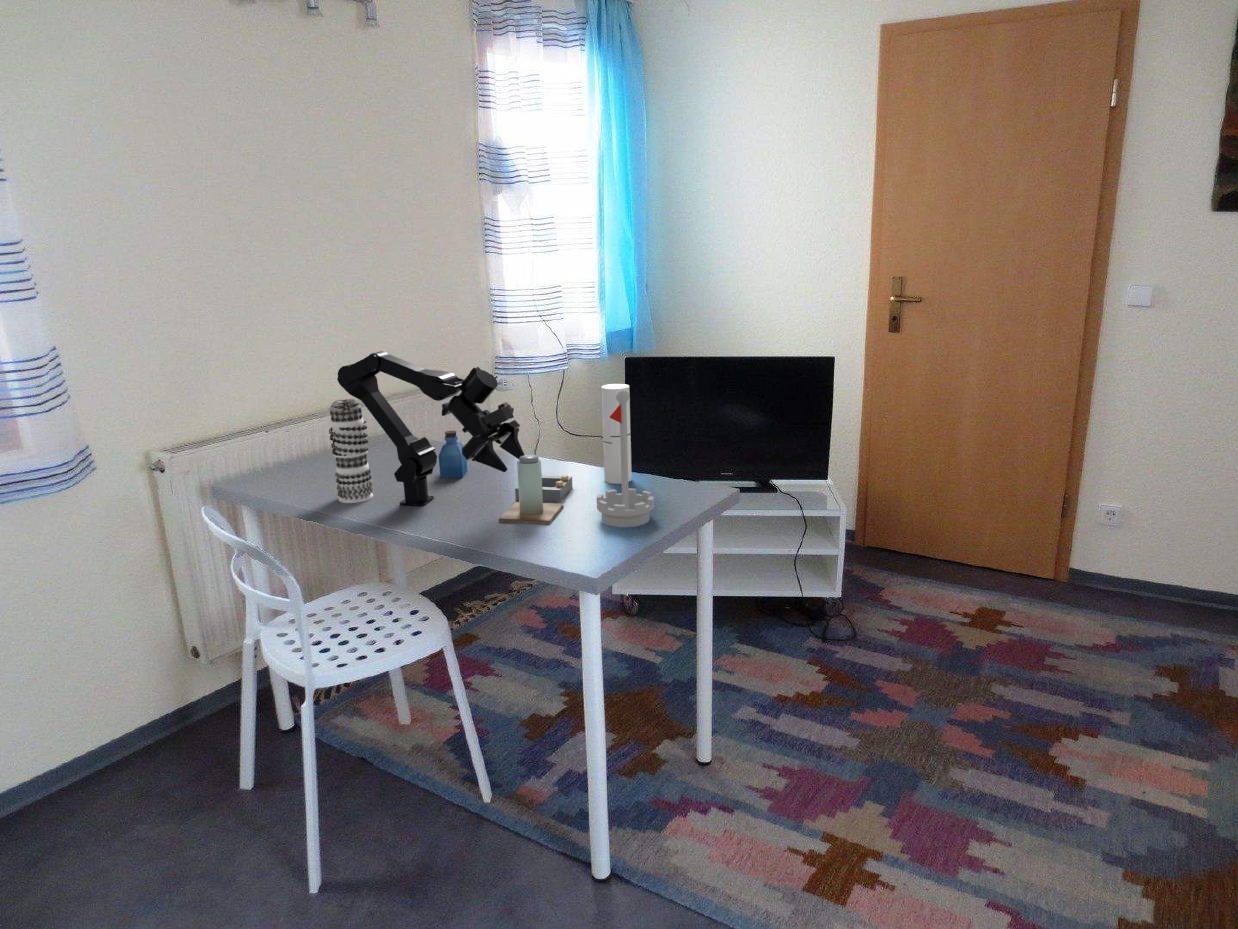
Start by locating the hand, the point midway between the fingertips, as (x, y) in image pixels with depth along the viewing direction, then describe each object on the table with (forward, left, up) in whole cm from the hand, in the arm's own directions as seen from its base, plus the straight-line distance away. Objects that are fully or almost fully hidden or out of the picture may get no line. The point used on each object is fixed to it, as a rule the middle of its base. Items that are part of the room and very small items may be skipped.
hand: (515, 465), depth 198 cm
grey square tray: (+15, -2, -12) cm, 19 cm away
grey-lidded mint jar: (-1, -3, -11) cm, 11 cm away
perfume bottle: (+29, +28, -12) cm, 42 cm away
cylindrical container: (+29, -18, -12) cm, 36 cm away
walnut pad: (-1, -4, -12) cm, 12 cm away
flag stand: (-1, -26, -12) cm, 29 cm away
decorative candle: (+6, +45, -12) cm, 47 cm away
